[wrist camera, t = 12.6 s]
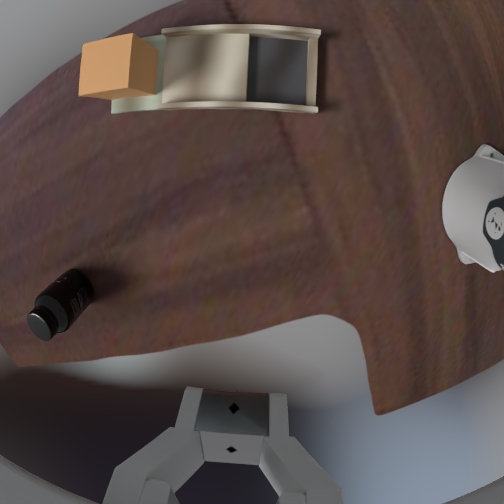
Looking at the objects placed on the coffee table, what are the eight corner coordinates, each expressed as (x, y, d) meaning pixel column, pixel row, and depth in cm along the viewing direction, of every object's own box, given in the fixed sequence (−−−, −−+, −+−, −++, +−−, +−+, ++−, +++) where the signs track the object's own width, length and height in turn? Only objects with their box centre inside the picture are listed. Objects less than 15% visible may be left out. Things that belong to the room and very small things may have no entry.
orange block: (158, 50, 29) (132, 33, 22) (155, 95, 31) (128, 87, 24) (115, 56, 29) (83, 44, 22) (112, 99, 32) (78, 95, 24)
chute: (316, 38, 29) (320, 29, 26) (313, 114, 33) (317, 112, 30) (121, 44, 30) (109, 38, 27) (116, 114, 34) (103, 113, 30)
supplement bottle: (66, 260, 42) (23, 297, 31) (99, 283, 43) (60, 326, 32) (59, 290, 45) (20, 328, 34) (89, 311, 46) (54, 355, 35)
